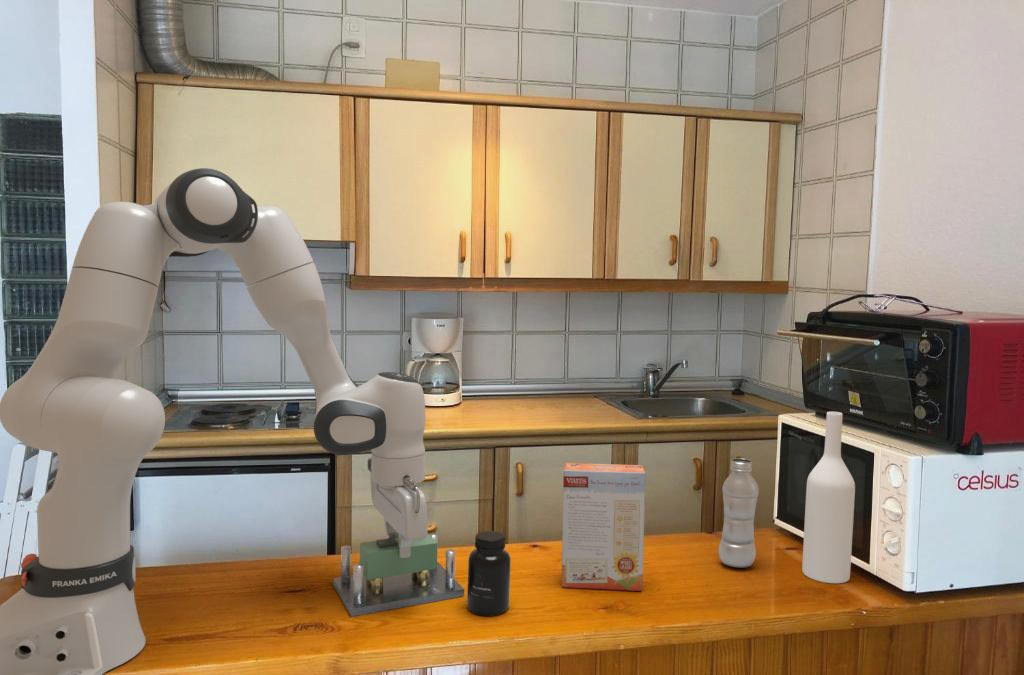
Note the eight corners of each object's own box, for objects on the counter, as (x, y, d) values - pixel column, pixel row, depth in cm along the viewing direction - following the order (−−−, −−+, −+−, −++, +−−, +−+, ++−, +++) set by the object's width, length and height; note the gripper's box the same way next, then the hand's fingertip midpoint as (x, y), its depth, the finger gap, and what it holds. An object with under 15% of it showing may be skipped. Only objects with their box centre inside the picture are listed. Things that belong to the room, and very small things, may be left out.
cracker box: (640, 578, 134) (644, 463, 132) (642, 593, 128) (646, 472, 126) (561, 574, 135) (564, 460, 134) (560, 588, 129) (563, 469, 128)
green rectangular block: (427, 558, 132) (427, 530, 132) (437, 568, 127) (437, 539, 127) (359, 569, 127) (359, 539, 126) (367, 580, 122) (367, 549, 122)
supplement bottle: (472, 619, 117) (473, 544, 116) (463, 600, 124) (464, 529, 123) (514, 614, 119) (516, 541, 118) (503, 596, 126) (504, 526, 125)
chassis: (351, 616, 117) (351, 572, 117) (333, 585, 129) (332, 544, 128) (464, 596, 126) (464, 554, 125) (437, 568, 137) (438, 529, 137)
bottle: (855, 585, 133) (865, 418, 130) (807, 582, 134) (816, 415, 131) (843, 568, 141) (852, 409, 138) (797, 564, 142) (805, 407, 139)
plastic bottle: (711, 560, 143) (715, 457, 141) (742, 557, 145) (746, 455, 144) (730, 573, 137) (735, 466, 135) (762, 570, 139) (767, 463, 137)
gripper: (437, 483, 118) (437, 569, 119) (398, 454, 136) (398, 528, 137) (398, 487, 115) (398, 575, 116) (364, 457, 133) (364, 533, 135)
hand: (398, 549), depth 127 cm, fingers closed on green rectangular block, 5 cm apart
